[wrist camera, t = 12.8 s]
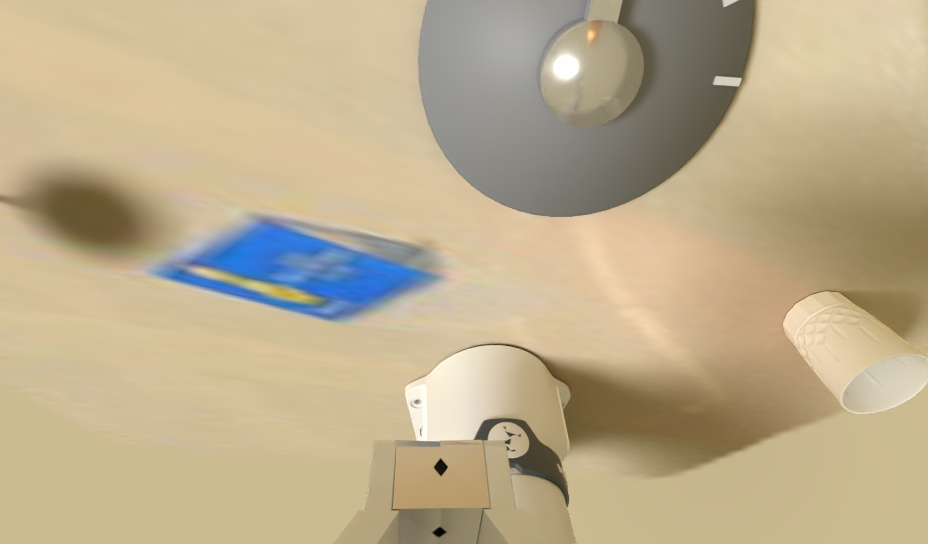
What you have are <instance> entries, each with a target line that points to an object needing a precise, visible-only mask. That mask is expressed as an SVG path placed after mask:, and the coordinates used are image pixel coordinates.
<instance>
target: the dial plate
mask: <svg viewBox="0 0 928 544" xmlns="http://www.w3.org/2000/svg"><path fill="white" fill-rule="evenodd" d="M586 5H587V0H428V2H427V5H426V8H425V13H424V18H423V22H422V27H421V34H420V45H419V56H418V61H419V83H420V89H421V95H422V102H423V106H424V109H425V112H426V116H427V119H428V123H429V125H430V127H431V130H432V132H433V134H434V137H435V139H436V141H437V143H438V145H439V146H440V148H441V150H442V151H443V153H444V155H445V156H446V158H447V159H448V160H449V162H450V163H451V164H452V165H453V167H454V168H455V169H456V170H457V172H458V173H459V174H460V175H461V176H462V177H463V178H464V179H465V180H466V181H467V182H469V183H470V184H471V185H472V186H473V187H474V188H476V189H477V190H479V191H480V192H481V193H483V194H484V195H485V196H487V197H489V198H491V199H493V200H494V201H496V202H498V203H500V204H502V205H504V206H507V207H510V208H512V209H515V210H518V211H521V212H525V213H530V214H534V215H541V216H550V217H572V216H580V215H587V214H592V213H597V212H601V211H605V210H608V209H611V208H614V207H617V206H619V205H622V204H625V203H627V202H629V201H631V200H633V199H635V198H637V197H639V196H641V195H643V194H645V193H646V192H648V191H650V190H651V189H653V188H655V187H656V186H658V185H659V184H661V183H662V182H663V181H665V180H666V179H667V178H669V177H670V176H671V175H672V174H674V173H675V172H676V171H677V170H678V169H679V168H681V167H682V166H683V165H684V164H685V163H686V162H687V161H688V160H689V159H690V158H691V157H692V156H693V155H694V154H695V153H696V151H697V150H698V149H699V148H700V147H701V146H702V145H703V143H704V142H705V141H706V140H707V138H708V137H709V136H710V134H711V133H712V131H713V130H714V129H715V127H716V126H717V124H718V123H719V121H720V120H721V118H722V116H723V114H724V113H725V111H726V109H727V107H728V106H729V104H730V102H731V99H732V97H733V95H734V93H735V90H736V88H737V86H738V87H739V85H740V82H741V80H742V78H741V75H742V72H743V69H744V66H745V62H746V59H747V54H748V49H749V45H750V40H751V33H752V21H753V0H622V5H621V9H620V13H619V18H618V22H617V23H618V24H620V25H622V26H623V27H625V28H626V29H628V30H629V31H630V32H631V33H632V34H633V35H634V36H635V38H636V39H637V41H638V43H639V45H640V47H641V50H642V53H643V59H644V72H643V78H642V82H641V85H640V88H639V90H638V92H637V94H636V96H635V98H634V99H633V101H632V102H631V104H630V105H629V106H628V107H627V108H626V109H625V110H624V111H623V112H622V113H621V114H620V115H619V116H617V117H616V118H615V119H613V120H611V121H609V122H608V123H605V124H603V125H600V126H596V127H591V128H579V127H574V126H570V125H568V124H566V123H564V122H562V121H561V120H559V119H558V118H557V117H556V116H555V115H554V114H553V113H552V112H551V110H550V109H549V108H548V106H547V105H546V103H545V102H544V100H543V99H542V96H541V94H540V91H539V88H538V82H537V69H538V64H539V60H540V57H541V54H542V52H543V50H544V48H545V46H546V44H547V43H548V41H549V40H550V39H551V37H552V36H553V35H554V34H555V33H556V32H557V31H558V30H559V29H561V28H562V27H563V26H565V25H566V24H568V23H570V22H572V21H574V20H576V19H580V18H583V17H584V15H585V10H586Z"/></svg>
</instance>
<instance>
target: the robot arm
mask: <svg viewBox="0 0 928 544" xmlns="http://www.w3.org/2000/svg"><path fill="white" fill-rule="evenodd" d="M405 395H406V400H407V404H408V408H409V412H410V415H411V419H412V423H413V427H414V430H415V434H416V438H417V441H404V440H374V443H373V447H372V455H371V464H370V473H369V482H368V491H367V499H366V508H365V511H358V512H357V514H356V515H355V516H354V517H353V519H352V520H351V522H350V523H349V524H348V525H347V527H346V528H345V529H344V531H343V532H342V533H341V534H340V536H339V537H338V539H337V540H336V541H335V543H334V544H576V540H575V537H574V533H573V529H572V525H571V522H570V517H569V514H568V510H567V507H568V504H569V495H568V485H567V480H566V476H565V473H564V471H563V468H562V464H561V462H562V461H563V459H564V458H565V456H566V453H567V452H568V451H569V449H570V443H569V438H568V433H567V428H566V423H565V419H564V414H563V410H564V408H565V406H566V405H567V403H568V401H569V400H570V397H571V395H570V389H569V387H568V386H567V385H566V384H564V383H563V382H561V381H559V380H557V379H556V378H554V377H553V376H552V375H551V374H550V372H549V371H548V369H547V368H546V366H545V365H544V364H543V363H542V362H541V361H540V360H539V359H538V358H537V357H535V356H534V355H532V354H530V353H528V352H526V351H524V350H521V349H518V348H515V347H510V346H502V345H486V346H479V347H474V348H470V349H466V350H463V351H461V352H458V353H456V354H454V355H452V356H450V357H449V358H447V359H445V360H444V361H443V362H441V363H440V364H439V365H438V366H437V367H436V368H435V369H434V370H433V371H432V372H431V373H430V374H428V375H427V376H425V377H423V378H420V379H418V380H416V381H414V382H412V383H410V384H409V385H407V386H406V388H405ZM417 399H418V400H417Z"/></svg>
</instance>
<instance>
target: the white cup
mask: <svg viewBox="0 0 928 544" xmlns="http://www.w3.org/2000/svg"><path fill="white" fill-rule="evenodd" d="M783 328H784V332H785V335H786V336H787V337H788V338H789V339H790V341H791V342H792V343H793V344H794V345H795V347H796V348H797V349H798V351H799V353H800V354H801V356H802V357H803V358H804V359H805V361H806V362H807V363H808V364H809V366H810V367H811V369H812V370H813V371H814V372H815V374H816V375H817V376H818V377H819V379H820V380H821V381H822V382H823V383H824V385H825V386H826V387H827V388H828V390H829V391H830V392H831V393H832V395H833V396H834V397H835V398H836V400H837V401H838V402H839V403H840V405H841V406H842V407H843V408H844V409H845V410H847V411H848V412H851V413H855V414H872V413H878V412H882V411H885V410H888V409H891V408H894V407H896V406H898V405H900V404H902V403H904V402H906V401H908V400H909V399H911V398H912V397H914V396H915V395H916V394H918V393H919V392H920V391H921V390H922V389H923V388H924V387H925V386H926V384H927V383H928V357H926V356H925V355H924V354H922V353H921V352H920V351H919V350H917V349H916V348H915V347H913V346H912V345H911V344H909V343H908V342H907V341H905V340H904V339H903V338H901V337H900V336H899V335H898V334H896V333H895V332H894V331H893V330H891V329H890V328H889V327H887V326H886V325H884V324H883V323H881V322H880V321H879V320H878V319H877V318H875V317H874V316H872V315H871V314H869V313H868V312H867V311H865V310H864V309H861V308H859V307H858V306H857V305H855V304H854V303H852V302H851V301H850V300H848V299H847V298H846V297H845V296H843V295H842V294H841V293H839V292H830V291H824V292H820V293H816V294H813V295H810V296H808V297H806V298H805V299H803V300H801V301H799V302H798V303H796V304H795V305H794V306H793V308H792V309H791V310H790V311H789V312H788V313H787V314H786V317H785V319H784V322H783Z"/></svg>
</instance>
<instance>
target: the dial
mask: <svg viewBox="0 0 928 544" xmlns="http://www.w3.org/2000/svg"><path fill="white" fill-rule="evenodd" d="M621 5H622V0H587V5H586V10H585V15H584V17H583V18H580V19H576V20H574V21H572V22H570V23H568V24H566V25H565V26H563V27H562V28H561V29H559V30H558V31H557V32H556V33H555V34H554V35H553V36H552V37H551V39H550V40H549V41H548V43H547V44H546V46H545V48H544V50H543V52H542V54H541V57H540V60H539V64H538V69H537V82H538V88H539V91H540V94H541V96H542V99H543V100H544V102H545V103H546V105H547V106H548V108H549V109H550V110H551V112H552V113H553V114H554V115H555V116H556V117H557V118H558V119H559V120H561V121H562V122H564V123H566V124H568V125H570V126H574V127H579V128H591V127H596V126H600V125H603V124H605V123H608V122H609V121H611V120H613V119H615V118H616V117H617V116H619V115H620V114H621V113H622V112H623V111H624V110H625V109H626V108H627V107H628V106H629V105H630V104H631V102H632V101H633V99H634V98H635V96H636V94H637V92H638V90H639V88H640V85H641V82H642V78H643V72H644V59H643V53H642V50H641V47H640V45H639V43H638V41H637V39H636V38H635V36H634V35H633V34H632V33H631V32H630V31H629V30H628V29H626V28H625V27H623V26H622V25H620V24H618V23H617V22H618V18H619V13H620V9H621Z"/></svg>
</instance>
